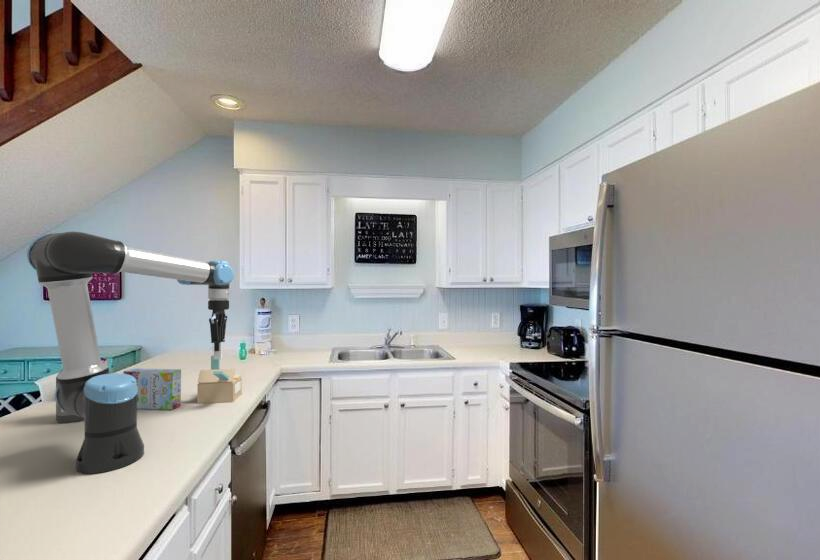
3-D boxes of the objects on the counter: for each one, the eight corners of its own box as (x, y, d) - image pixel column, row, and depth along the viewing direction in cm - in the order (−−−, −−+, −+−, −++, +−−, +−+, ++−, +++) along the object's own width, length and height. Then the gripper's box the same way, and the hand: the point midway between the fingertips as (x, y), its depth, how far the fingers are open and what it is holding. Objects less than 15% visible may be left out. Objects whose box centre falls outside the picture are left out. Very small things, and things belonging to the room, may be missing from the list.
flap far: (208, 377, 166) (208, 355, 166) (241, 376, 168) (241, 354, 168) (203, 380, 161) (203, 357, 161) (237, 379, 163) (237, 356, 163)
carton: (233, 402, 157) (233, 382, 157) (197, 403, 155) (197, 384, 155) (242, 394, 168) (242, 376, 168) (208, 395, 166) (208, 377, 166)
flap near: (233, 381, 157) (226, 376, 149) (198, 382, 156) (188, 377, 147) (235, 369, 160) (228, 363, 151) (200, 370, 158) (191, 364, 150)
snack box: (182, 405, 153) (182, 368, 153) (171, 410, 147) (171, 372, 147) (133, 404, 155) (133, 367, 155) (121, 408, 149) (121, 370, 149)
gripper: (222, 300, 144) (221, 362, 144) (234, 299, 157) (233, 355, 157) (201, 300, 144) (200, 362, 143) (215, 298, 156) (214, 355, 156)
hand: (217, 358), depth 150 cm, fingers closed
